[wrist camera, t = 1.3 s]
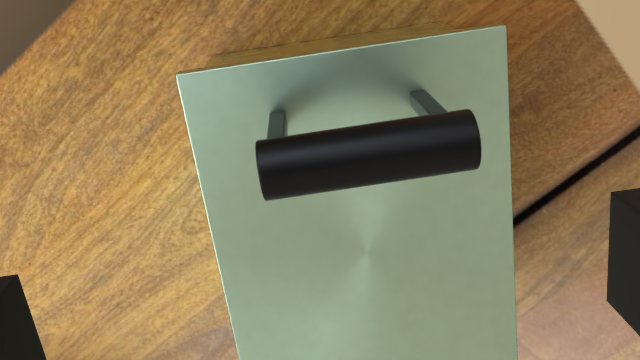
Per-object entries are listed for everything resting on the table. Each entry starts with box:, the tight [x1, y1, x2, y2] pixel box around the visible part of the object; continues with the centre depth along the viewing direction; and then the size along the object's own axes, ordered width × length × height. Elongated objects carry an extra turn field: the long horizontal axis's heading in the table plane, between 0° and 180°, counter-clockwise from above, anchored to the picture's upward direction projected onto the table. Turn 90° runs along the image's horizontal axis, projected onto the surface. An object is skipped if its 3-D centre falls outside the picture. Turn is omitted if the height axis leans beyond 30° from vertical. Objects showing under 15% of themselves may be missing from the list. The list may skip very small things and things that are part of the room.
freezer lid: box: [176, 23, 518, 360], centre depth 25 cm, size 19×14×8 cm
